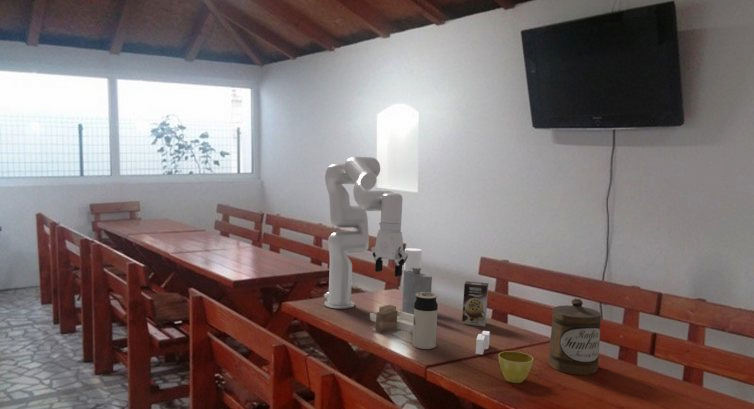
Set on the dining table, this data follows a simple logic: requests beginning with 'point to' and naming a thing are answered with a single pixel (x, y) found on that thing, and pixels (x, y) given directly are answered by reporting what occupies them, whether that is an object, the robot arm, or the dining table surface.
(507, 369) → the flower pot
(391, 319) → the brown wooden block
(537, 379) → the dining table surface
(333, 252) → the robot arm
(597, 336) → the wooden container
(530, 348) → the dining table surface
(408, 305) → the hip flask
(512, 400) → the dining table surface
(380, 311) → the offcut top
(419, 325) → the travel mug
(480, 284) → the coffee box
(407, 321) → the rack
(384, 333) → the mat
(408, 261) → the cylindrical container
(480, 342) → the napkin holder
